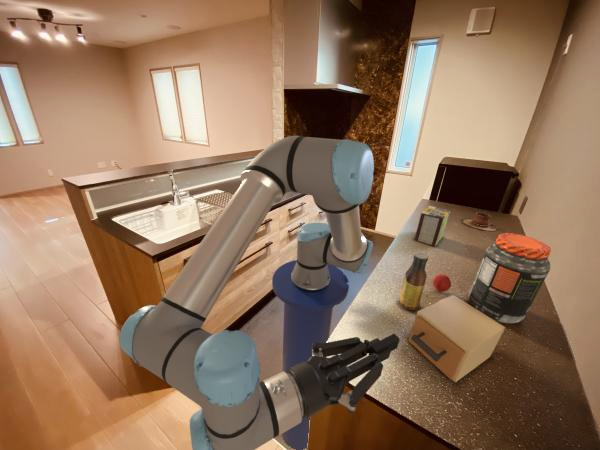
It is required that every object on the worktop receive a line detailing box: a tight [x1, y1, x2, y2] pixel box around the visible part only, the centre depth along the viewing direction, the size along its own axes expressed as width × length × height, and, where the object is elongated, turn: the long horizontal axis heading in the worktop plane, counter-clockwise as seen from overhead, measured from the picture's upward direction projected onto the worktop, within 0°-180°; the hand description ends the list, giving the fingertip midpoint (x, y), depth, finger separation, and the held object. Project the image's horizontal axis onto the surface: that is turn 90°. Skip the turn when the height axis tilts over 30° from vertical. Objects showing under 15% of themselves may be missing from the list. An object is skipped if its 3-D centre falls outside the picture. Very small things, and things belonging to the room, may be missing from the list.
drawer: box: [407, 315, 466, 381], centre depth 65 cm, size 19×13×9 cm, turn 118°
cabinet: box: [415, 294, 506, 383], centre depth 67 cm, size 16×14×11 cm
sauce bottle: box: [399, 251, 429, 311], centre depth 80 cm, size 7×6×20 cm
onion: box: [432, 273, 452, 293], centre depth 90 cm, size 6×6×8 cm
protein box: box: [414, 205, 451, 247], centre depth 129 cm, size 10×15×16 cm
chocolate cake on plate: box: [462, 212, 497, 232], centre depth 152 cm, size 18×18×7 cm
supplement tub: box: [468, 232, 552, 324], centre depth 79 cm, size 16×16×26 cm
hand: (395, 340), depth 51 cm, fingers closed
